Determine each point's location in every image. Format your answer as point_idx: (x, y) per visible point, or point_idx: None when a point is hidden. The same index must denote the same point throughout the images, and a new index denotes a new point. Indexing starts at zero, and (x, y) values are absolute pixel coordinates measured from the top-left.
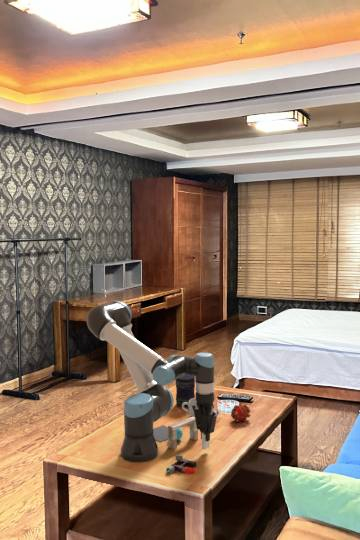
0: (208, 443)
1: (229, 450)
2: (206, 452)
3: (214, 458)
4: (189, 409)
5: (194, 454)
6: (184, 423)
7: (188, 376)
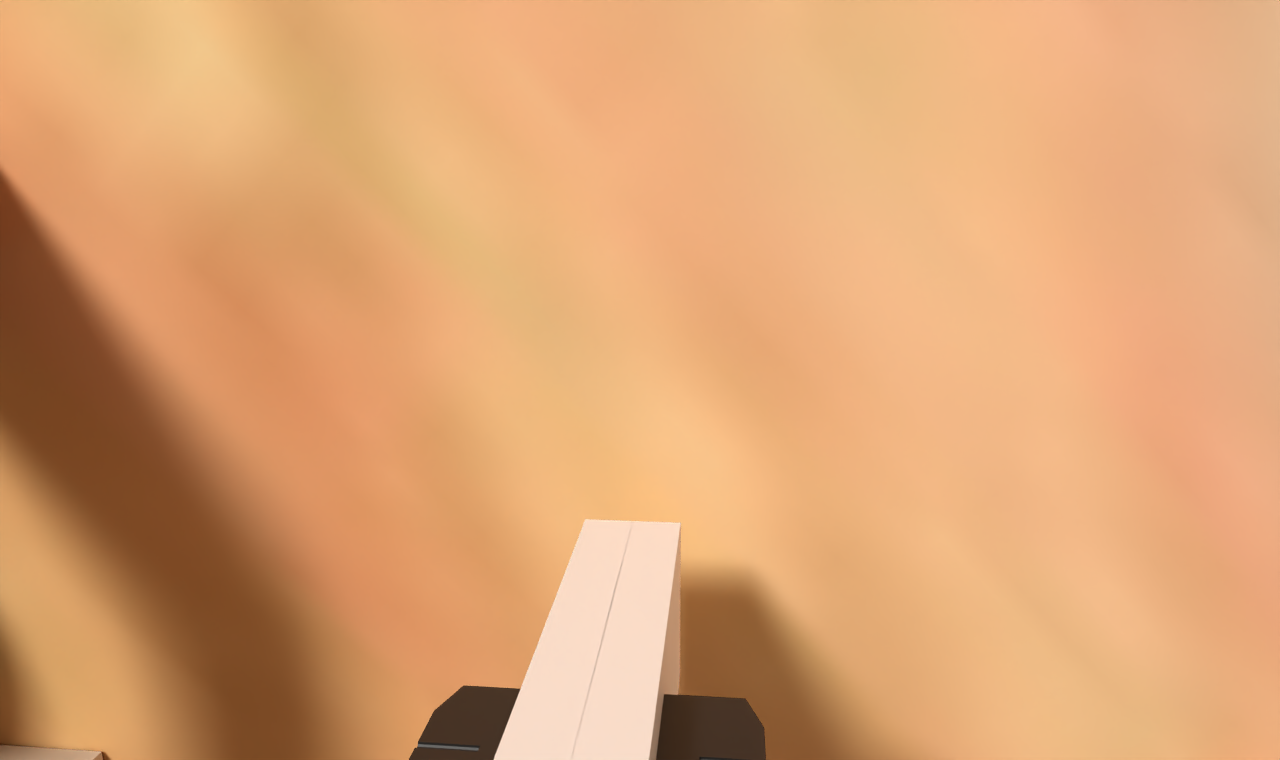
0: (673, 602)
1: (1024, 49)
2: None
3: (1001, 632)
4: None
5: None
6: None
7: None
